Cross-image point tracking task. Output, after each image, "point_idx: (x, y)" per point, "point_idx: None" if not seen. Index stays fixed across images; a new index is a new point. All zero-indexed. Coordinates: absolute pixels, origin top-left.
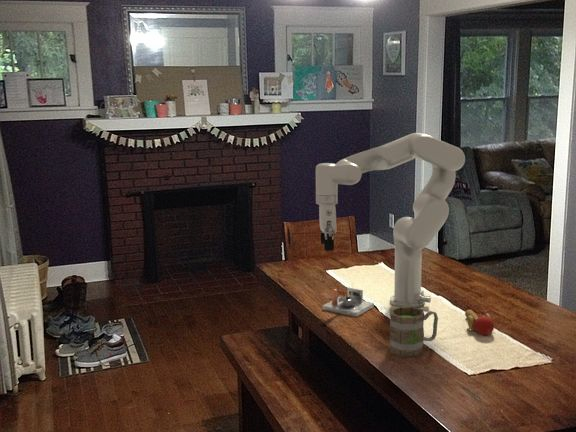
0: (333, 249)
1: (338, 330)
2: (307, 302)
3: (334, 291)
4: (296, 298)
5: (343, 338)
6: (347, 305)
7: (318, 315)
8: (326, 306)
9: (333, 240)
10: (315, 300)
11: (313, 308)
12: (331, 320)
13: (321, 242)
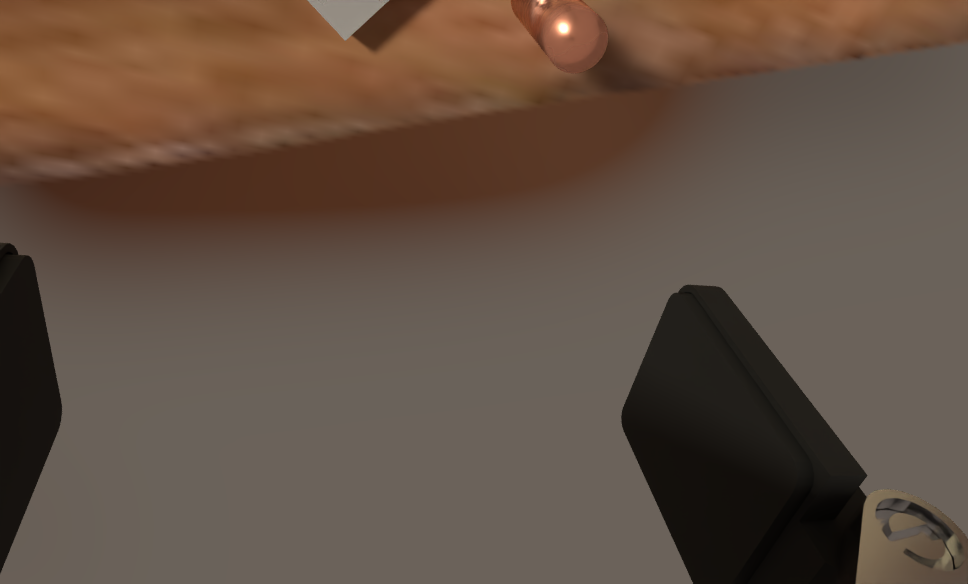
0: (720, 298)
1: (776, 40)
2: (137, 108)
3: (601, 50)
4: (18, 172)
5: (898, 50)
6: None
7: (463, 97)
8: (372, 13)
9: (844, 455)
10: (82, 26)
11: (299, 95)
12: None
13: (52, 438)
